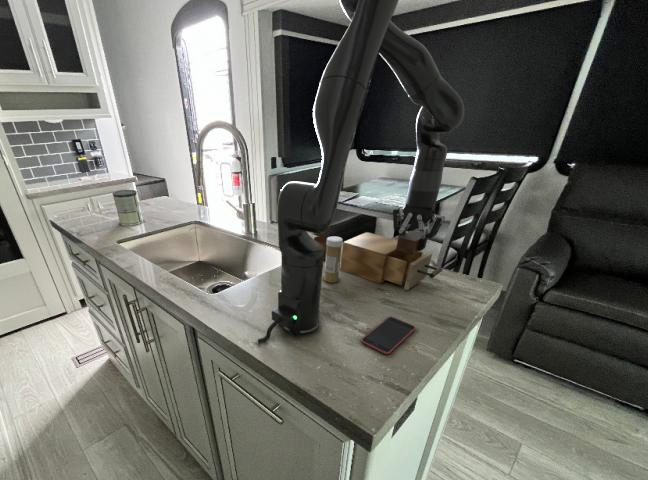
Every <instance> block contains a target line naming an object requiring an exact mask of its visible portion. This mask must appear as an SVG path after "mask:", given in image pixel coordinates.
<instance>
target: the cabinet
mask: <svg viewBox="0 0 648 480" xmlns="http://www.w3.org/2000/svg"><path fill="white" fill-rule="evenodd" d="M397 242H398V239H394V238H390V237H387V236H383V235H379V234H375V233H372V232H369V231H365V232H364V233H361V234H359V235H357V236H354V237H352V238H349V239H347V240H344V241H343V243H342V249H341V259H340V268H339V271H343V272H346V273H349V274H351V275H355V276H357V277H359V278H362V279H366V280H368V281H371V282H373V283H377V284H379V285H381V284H382V283H384V282H386V280H385V279H382V277H383V272H384V267H385V261H386V256H388V255H390V254H391V253H393V252H395V251H397V250H396V247H397Z"/></svg>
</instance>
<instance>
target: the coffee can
mask: <svg viewBox="0 0 648 480" xmlns="http://www.w3.org/2000/svg"><path fill="white" fill-rule="evenodd" d="M112 196H113V200H114V204H115V208H116V212H117V215H118V220H119V224H120V225H121V226H125V227H129V226H131V227H132V226H136V225H140V224H142V223H143V222H144V220H143V215H142V212H141V207H140V202H139V198H138V192H137V190H134V189H124V190H117V191H113V192H112Z"/></svg>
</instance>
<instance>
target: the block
mask: <svg viewBox="0 0 648 480" xmlns="http://www.w3.org/2000/svg"><path fill="white" fill-rule="evenodd" d="M420 238H421V233H420V231H414V230H410V231H407V232H406V234H404V235H402V236H400V237H399V236H398V238H397V240H398V242H397V247H396V250H397V251H400V252H404V253H408V254H411V255H413V254H415V253H416V252H418V246H419V242H420Z"/></svg>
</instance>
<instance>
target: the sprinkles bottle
mask: <svg viewBox="0 0 648 480" xmlns="http://www.w3.org/2000/svg"><path fill="white" fill-rule="evenodd" d="M343 240H344V239H343V238H342V237H340V236H330V237H328V238H327V251H326V259H325V261H324V262H325V264H324V276H323V280H324V281H325V282H327V283H336V282H339V275H340V269H341V256H342V248H343V242H344V241H343Z"/></svg>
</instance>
